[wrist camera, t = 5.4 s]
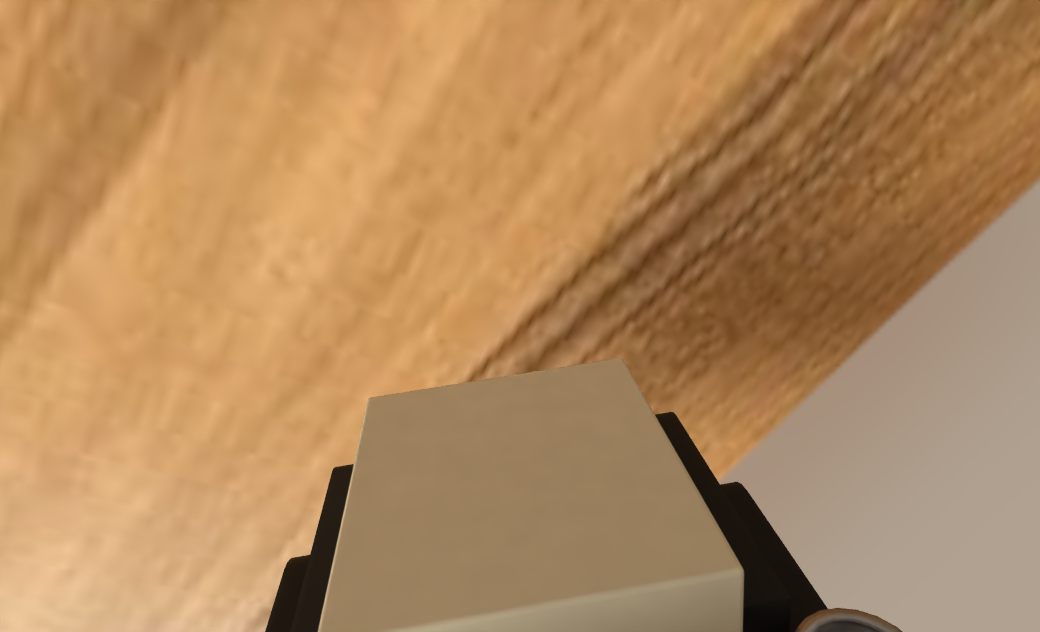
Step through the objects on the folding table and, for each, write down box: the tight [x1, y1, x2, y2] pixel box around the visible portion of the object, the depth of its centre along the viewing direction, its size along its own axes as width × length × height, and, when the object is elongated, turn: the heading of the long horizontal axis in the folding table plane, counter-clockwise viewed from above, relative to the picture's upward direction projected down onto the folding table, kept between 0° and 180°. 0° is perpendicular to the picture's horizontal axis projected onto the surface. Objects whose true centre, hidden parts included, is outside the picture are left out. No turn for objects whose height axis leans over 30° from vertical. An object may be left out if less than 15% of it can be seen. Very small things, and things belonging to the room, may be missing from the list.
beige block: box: [318, 358, 744, 632], centre depth 9 cm, size 4×5×4 cm
